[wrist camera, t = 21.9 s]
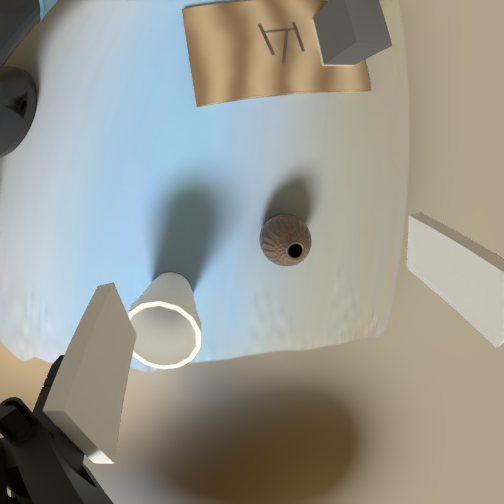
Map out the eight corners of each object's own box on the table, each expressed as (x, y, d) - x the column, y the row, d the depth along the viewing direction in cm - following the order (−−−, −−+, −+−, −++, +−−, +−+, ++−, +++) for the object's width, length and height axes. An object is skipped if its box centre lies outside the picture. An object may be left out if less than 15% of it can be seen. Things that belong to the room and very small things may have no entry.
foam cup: (211, 307, 47) (213, 356, 35) (158, 325, 47) (146, 377, 35) (186, 252, 44) (179, 289, 32) (131, 274, 44) (108, 316, 32)
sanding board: (197, 107, 38) (196, 105, 37) (182, 12, 33) (181, 9, 32) (367, 91, 41) (371, 90, 39) (346, 5, 36) (349, 2, 34)
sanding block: (311, 20, 35) (340, -13, 24) (341, 21, 36) (376, -8, 25) (322, 66, 38) (356, 42, 27) (352, 66, 38) (392, 45, 27)
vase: (307, 245, 47) (328, 264, 38) (265, 262, 47) (278, 286, 38) (293, 203, 44) (313, 214, 36) (249, 220, 44) (259, 235, 36)
